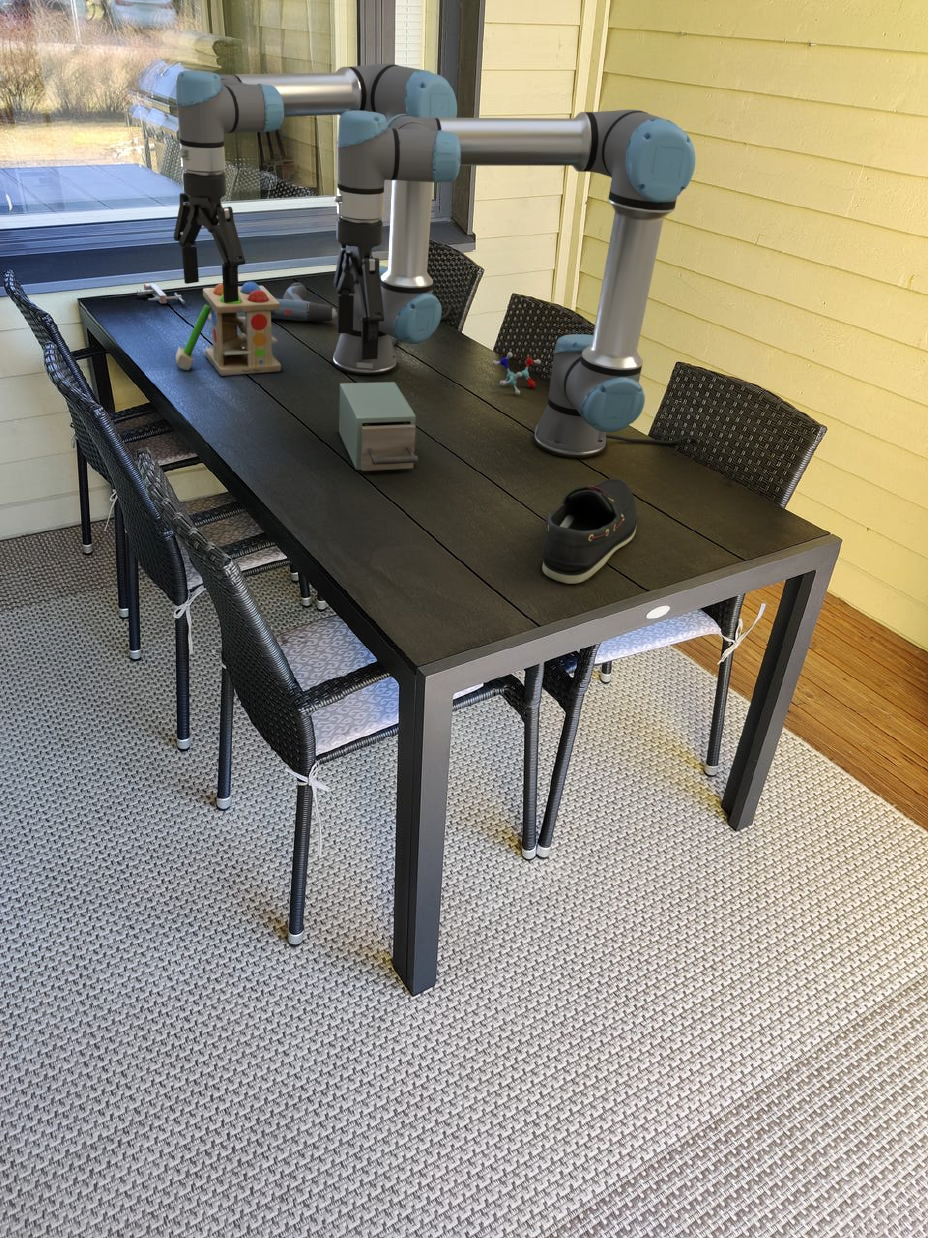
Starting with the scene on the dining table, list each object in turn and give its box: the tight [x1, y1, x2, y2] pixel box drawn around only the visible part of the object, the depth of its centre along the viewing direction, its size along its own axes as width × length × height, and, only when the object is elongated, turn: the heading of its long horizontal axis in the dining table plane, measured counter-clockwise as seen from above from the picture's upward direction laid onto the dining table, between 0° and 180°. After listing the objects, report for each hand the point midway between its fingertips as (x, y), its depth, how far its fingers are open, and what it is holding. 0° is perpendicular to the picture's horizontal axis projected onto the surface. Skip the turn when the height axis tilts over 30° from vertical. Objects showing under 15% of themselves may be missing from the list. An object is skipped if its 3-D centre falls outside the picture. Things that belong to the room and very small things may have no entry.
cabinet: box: [338, 381, 417, 471], centre depth 196 cm, size 18×11×11 cm, turn 17°
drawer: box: [360, 421, 419, 472], centre depth 191 cm, size 22×10×9 cm, turn 17°
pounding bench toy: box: [174, 281, 282, 377], centre depth 225 cm, size 23×14×18 cm, turn 116°
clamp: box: [136, 283, 186, 305], centre depth 265 cm, size 15×2×10 cm
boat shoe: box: [541, 478, 638, 585], centre depth 172 cm, size 13×33×10 cm, turn 147°
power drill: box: [271, 282, 338, 322], centre depth 265 cm, size 5×19×20 cm
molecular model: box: [491, 351, 542, 396], centre depth 231 cm, size 12×10×10 cm
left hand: (211, 291), depth 186 cm, fingers open, 13 cm apart
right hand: (356, 345), depth 172 cm, fingers open, 13 cm apart
